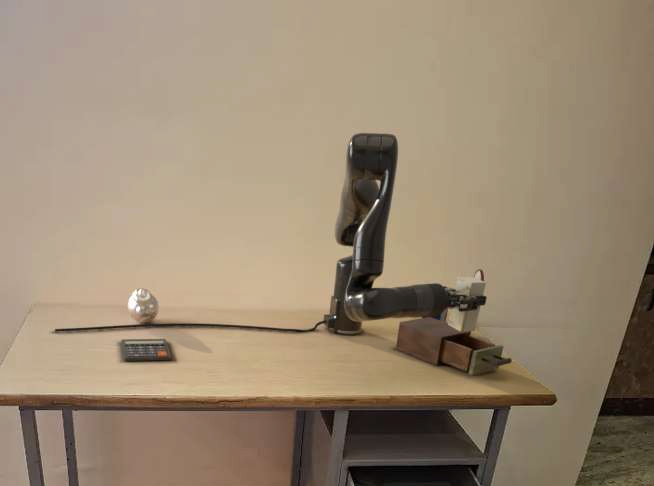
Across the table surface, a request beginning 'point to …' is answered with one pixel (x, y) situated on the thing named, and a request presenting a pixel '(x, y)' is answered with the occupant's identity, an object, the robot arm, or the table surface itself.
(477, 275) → the magnifying glass
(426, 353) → the cabinet
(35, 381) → the table surface
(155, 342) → the calculator
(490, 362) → the drawer
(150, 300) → the silver rounded lump
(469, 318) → the cosmetic box
